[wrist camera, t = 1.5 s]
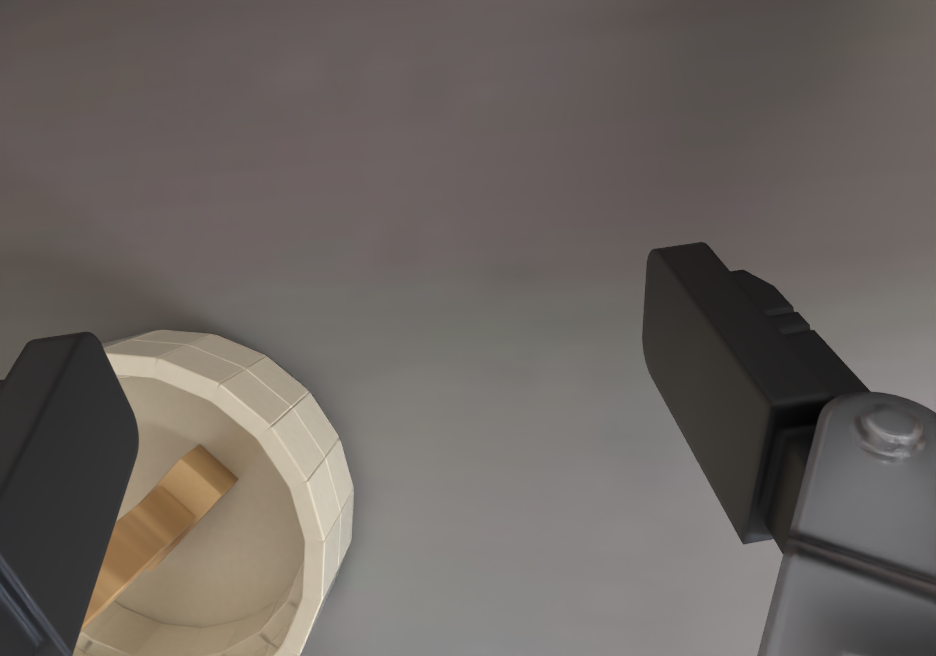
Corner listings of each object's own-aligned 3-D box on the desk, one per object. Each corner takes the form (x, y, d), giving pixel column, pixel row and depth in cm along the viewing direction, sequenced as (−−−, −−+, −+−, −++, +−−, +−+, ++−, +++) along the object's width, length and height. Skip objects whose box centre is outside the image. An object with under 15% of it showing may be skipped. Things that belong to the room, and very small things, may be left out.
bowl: (84, 275, 33) (-9, 289, 27) (405, 408, 33) (383, 451, 27) (-11, 573, 35) (-114, 645, 30) (288, 695, 36) (244, 791, 30)
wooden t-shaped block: (199, 443, 33) (-21, 608, 19) (239, 478, 33) (49, 667, 20) (131, 517, 34) (-127, 727, 20) (170, 552, 34) (-59, 783, 20)
